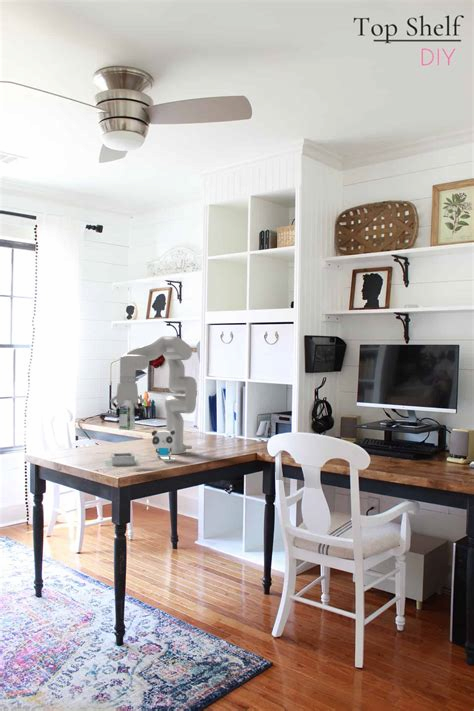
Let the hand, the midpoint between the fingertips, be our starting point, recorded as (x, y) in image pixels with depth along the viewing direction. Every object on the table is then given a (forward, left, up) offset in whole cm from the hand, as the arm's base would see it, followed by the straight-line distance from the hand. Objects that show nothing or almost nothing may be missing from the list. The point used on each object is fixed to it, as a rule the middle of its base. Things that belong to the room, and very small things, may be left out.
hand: (127, 416), depth 292 cm
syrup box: (0, 0, -6) cm, 6 cm away
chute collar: (+2, 0, -23) cm, 23 cm away
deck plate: (+2, 0, -24) cm, 24 cm away
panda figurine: (-20, -15, -24) cm, 35 cm away
